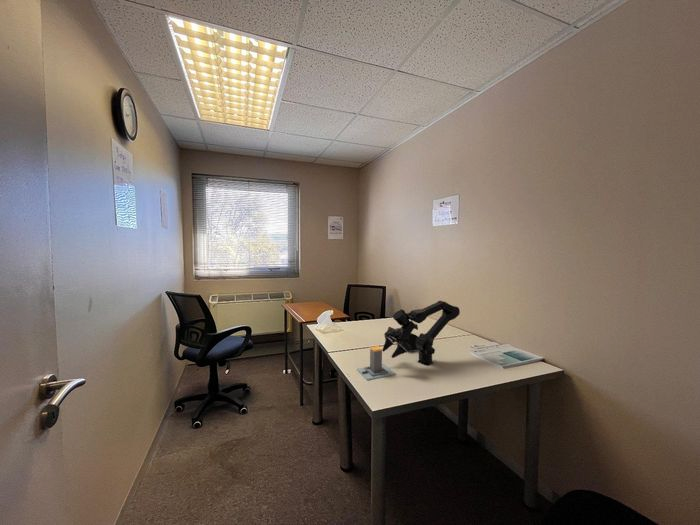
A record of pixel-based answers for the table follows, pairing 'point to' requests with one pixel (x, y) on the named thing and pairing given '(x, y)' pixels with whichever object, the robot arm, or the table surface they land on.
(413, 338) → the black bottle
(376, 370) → the brick
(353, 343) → the table surface
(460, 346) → the table surface
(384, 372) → the charging dock
